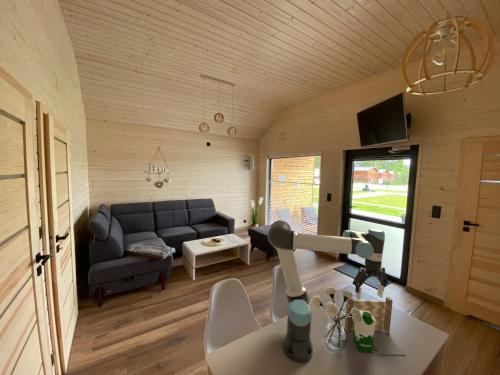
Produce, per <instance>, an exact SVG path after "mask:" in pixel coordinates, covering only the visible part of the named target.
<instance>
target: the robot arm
mask: <svg viewBox="0 0 500 375" xmlns="http://www.w3.org/2000/svg"><path fill="white" fill-rule="evenodd" d="M385 238H386V234H385V232H384V231H383V230H381V229H379V228H369V229H368V231H366V232H365V231H357V230H347V229H345V230H343V232H342V236H333V235H321V234H312V233H299V232H296V231H295V230H292V228H291V226H290V224H289V223H288V222H287V221H286V220H283V219H280V220H279V219H278V220H275V221H273V223H271V225H270V227H269V230H268V232H267V239H268V240H267V241H268V242H269V243H270V245H271V246H272V247H273V248H274V249H276V251H277V255H278V257H279V258H278V259H279V262H280V266H281V270H282V273H283V277H284V282H285V286H286V289H285V296H286V298H287V304H288V307H287V322H286V323H287V324H286V334H285V335H284V337H283V341H282V350H283V353H284V355H286V357H287V358H289V359H290V360H292V361H294V362H298V363H305V362H308V361H310V360H311V359H312V358H313V354H314V347H313V344H312V343H313V342H312V340H311V329H312V328H311V326H312V318H313V317H312V316H313V315H312V314H313V312H312V308H311V306H310V304H311V303H310V296H309V294H308V291H307V289H306V286H305V285H303V283H302V280H301V277H300V273H299V269H298V265H297V261H296V256H295V254H294V251H295V250H296V249H297V250H307V251H316V252H324V253H325V252H328V253H337V254H347V255H348V254H349V255H357V256H358V257H359V258H361V259H364V265H365V267H361V266H360V267H359V268H358V271H357V273H356V275H355V277H354V278H353V281H352V285H353V286H355V288H354V291H355V298H356V299H357V300H361V295H362V289H363V288H362V286H363V285H364V283H365V282H366V281H367V280H368V279H370V278H373V277H375V278H376V279H377V280H378V282H379V283H378V285H377V286H378V287H377V288H378V289H377V296H378V297H380V298H381V299H383V296H384V291H385V287H387V286H388V285H389V280H388V277H387V274H386V268H385V267H383V266H382V262H383V261H382V260H383V253H384V247H385Z"/></svg>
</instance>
